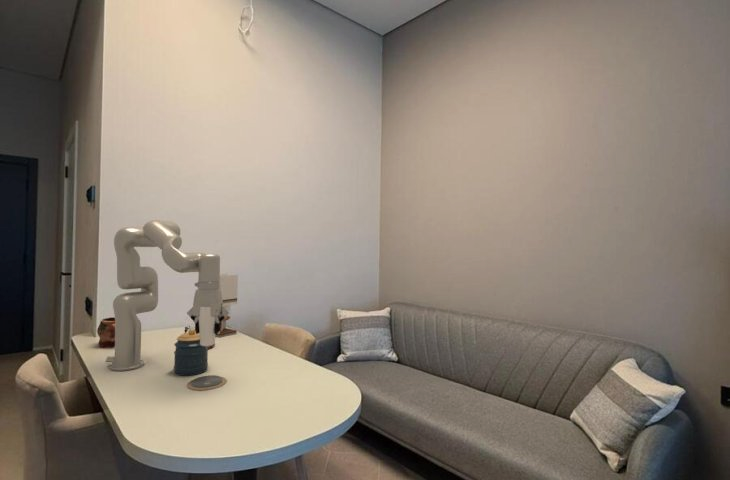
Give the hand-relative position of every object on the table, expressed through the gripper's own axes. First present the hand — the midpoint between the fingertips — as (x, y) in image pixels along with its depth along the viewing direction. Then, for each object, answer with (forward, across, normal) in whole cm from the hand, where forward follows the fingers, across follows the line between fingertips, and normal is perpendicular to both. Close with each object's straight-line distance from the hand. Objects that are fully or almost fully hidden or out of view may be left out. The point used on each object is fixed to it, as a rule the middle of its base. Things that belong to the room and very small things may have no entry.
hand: (207, 332), depth 144 cm
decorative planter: (+20, -68, +51) cm, 87 cm away
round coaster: (+19, 0, 0) cm, 19 cm away
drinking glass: (+5, 0, 0) cm, 5 cm away
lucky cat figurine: (+20, -22, +48) cm, 57 cm away
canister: (+20, -12, +14) cm, 27 cm away
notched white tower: (+20, -21, +78) cm, 83 cm away
